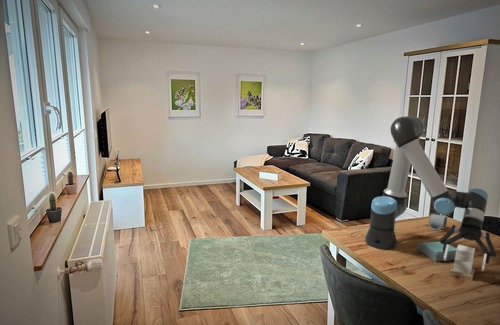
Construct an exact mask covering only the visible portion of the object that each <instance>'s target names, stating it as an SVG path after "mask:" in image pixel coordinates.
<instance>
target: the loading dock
mask: <svg viewBox="0 0 500 325" xmlns="http://www.w3.org/2000/svg"><path fill="white" fill-rule="evenodd" d="M417 244H418V245H417V250H418V251H419V252H420V253H422V254H424V255H425V256H426V257H428V258H430V259H431V260H432V261H434V262H443V261H453V260H454V261H455V255H456V249H457V247H455V246H452V244H450V245H449V250H448V254H447V258H446V260H444V254H445V252H443V246H444V244H441V243H440V241H429V242H419V243H417Z"/></svg>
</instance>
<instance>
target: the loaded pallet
mask: <svg viewBox="0 0 500 325" xmlns="http://www.w3.org/2000/svg"><path fill="white" fill-rule="evenodd" d="M475 250H476V248H475V247H470V246H468V245H462V244H458V245H457V247H456V255H455V260H454V262H453V263H452V265H451V268H450V270H449V274H450V275H453V276H457V277H459V278H464V279H467V280H470V281H473V279H474V274H475V272H476V271H475V270H476V269H475V268H473V265H474V258H475V257H474V256H475V252H476V251H475Z"/></svg>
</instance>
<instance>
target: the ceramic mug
mask: <svg viewBox="0 0 500 325" xmlns="http://www.w3.org/2000/svg"><path fill="white" fill-rule="evenodd" d="M447 221H448V218H447V215H442V214H430V215H429V218H428V225H429V229H430V230H432V231H435V232H437V231H441V230H445V229H446V227H447V223H448V222H447Z"/></svg>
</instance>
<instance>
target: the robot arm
mask: <svg viewBox="0 0 500 325" xmlns="http://www.w3.org/2000/svg"><path fill="white" fill-rule="evenodd" d="M424 130H425V125H424V122H423V121H422V119H420V118H419V117H417V116H413V115H407V116H400V117H397V118H396V119H395V120H393V122H392V123H391V126H390V135H391V136H392V139H393V142H394V143H395V148H394V149H395V150H394V154H393V159H392V163H391V169H390V174H389V179H388V183H387V187H386V188H385V189H384V190H383V193H382V195H381V196H376V197H374V198H373V199H372V200H371V206H370V208H371V209H370V219H369V220H370V221H369V228H368V230H367V232H366V235H365V236H364V237H365V238H364V242H365V243H366V244H367V245H368V246H370V247H373V248H377V249H381V250H393V249H395V248H396V247H397V242H398V240H397V236H396V233H395V225H396V219H397V218H399V217H400V216H401V215H403V214H404V213H405V212H406V210H407V207H408V201H407V199H408V198H407V197H408V194H407V192H406V187H407V183H408V179H409V174H410V168H411V166H412V168H413V170H414V172H415V173H416V175H417V176H418V178H419V179H420V182H422V185H423V186H424V188H425V189H426V192H427V193H428V194H429V197H430V198H431V200H432V202H433V208H434V211H435V212H436V213H437V214H438V215H441V216H447V215H450V214H451V213H453V212H454V211H455V208H459V209H464V211H463V216H462V220H461V224H460V227H457V226H456V225H455V224H452V226H451V228H450V229H449V230H448V231H447V232H446V233H445V234H444V235H443V236H442V237H441V238H440V239H439V242H440V243H441V244H444V246H443V252H445V254H444V260H446V258H447V254H448V250H449V245H452V244H453V243H455V242H457V241H459V240H462V239H464V240H469V241H473V242H474V241H475V242H476V243H477V245H478V246H479V248H480V249H481V250H482V251H483V252H484V253H483V261H482V265H481V271H482V272H485V267H486V264H487V265H488V264H489V263H490V259H491V257H493V258H495V257H496V256H497V252H496V249H495V247H494V245H493V242H492V240H491V238H490V232H486V233H485V232H482V229H483V222H484V218H485V213H486V208H487V206H488V205H487V204H488V197H489V195H488V193H487V191H486V190H484V189H483V188H477V187H475V188H471V189H469V191H468V192H465V191H464V192H463V191H457V190H451V189H448V188H447V187H446V185H445V183H444V182H443V180H442V179H441V177H440V175H439V174H438V172H437V170H436V169H435V167H434V165H433V164H432V162H431V160H430V158H429V157H428V155H427V154H426V152H425V150H424V149H423V147H422V145H421V144H420V139H421V136H422V135H423V133H424ZM456 232H458V233H457V234H456V235H454V234H455V233H456ZM451 236H452V237H451ZM482 237H483V238H484V239H485V241H486V244H487V246H486V245H485V244H484V242H483V241H482V240H481V238H482ZM446 261H447V260H446Z"/></svg>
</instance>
